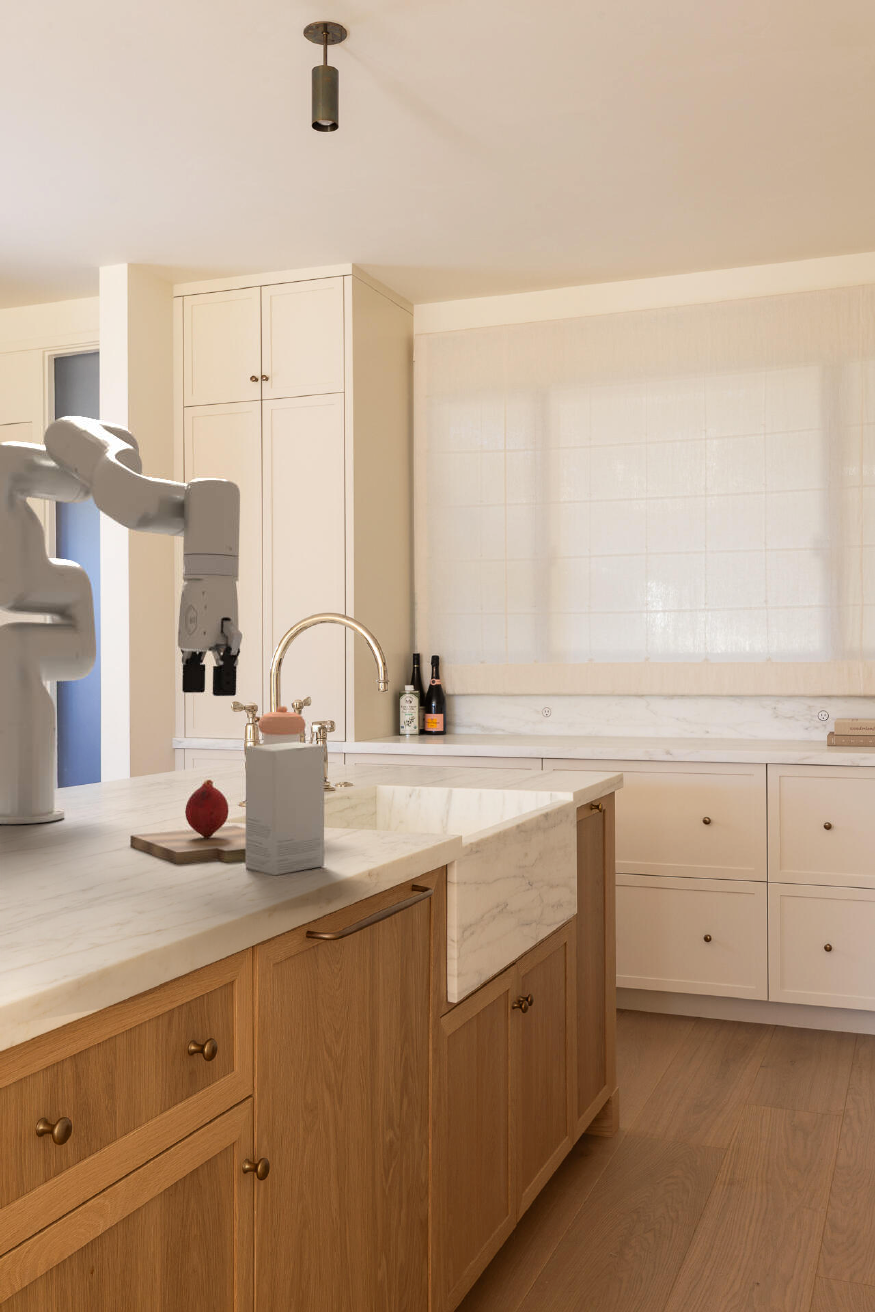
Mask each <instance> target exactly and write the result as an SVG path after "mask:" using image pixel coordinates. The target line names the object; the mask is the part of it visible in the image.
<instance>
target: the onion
mask: <svg viewBox="0 0 875 1312" xmlns="http://www.w3.org/2000/svg"><path fill="white" fill-rule="evenodd" d="M213 784H214V781H212V780H211V779H205V781H204V782H202V784H201V786H200V787H199V788H197V789H196V790H194V792H193V793H192V794H191V795H190V797H189V798H188V801H187V803H186V805H185V811H184V813H185V818H186V821H187V823H188V825H189V826H190V827H191V828H192V830H193V829H194V830H195V831H196V832H198V833H199V834H201V835H202V836H203V837H205V838H207V837H211V836H212V835H213V834H214V833H215V832H216V831H217V830H218V829H219V828H221V827H223V826H224V825H225V823H226V821H227V820H228V815H229V803H228V801H227V799H226V797H225V795H224V794H223V793H222V792H221V791H220V790H219V789H218V788H216V787H214V785H213Z"/></svg>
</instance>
